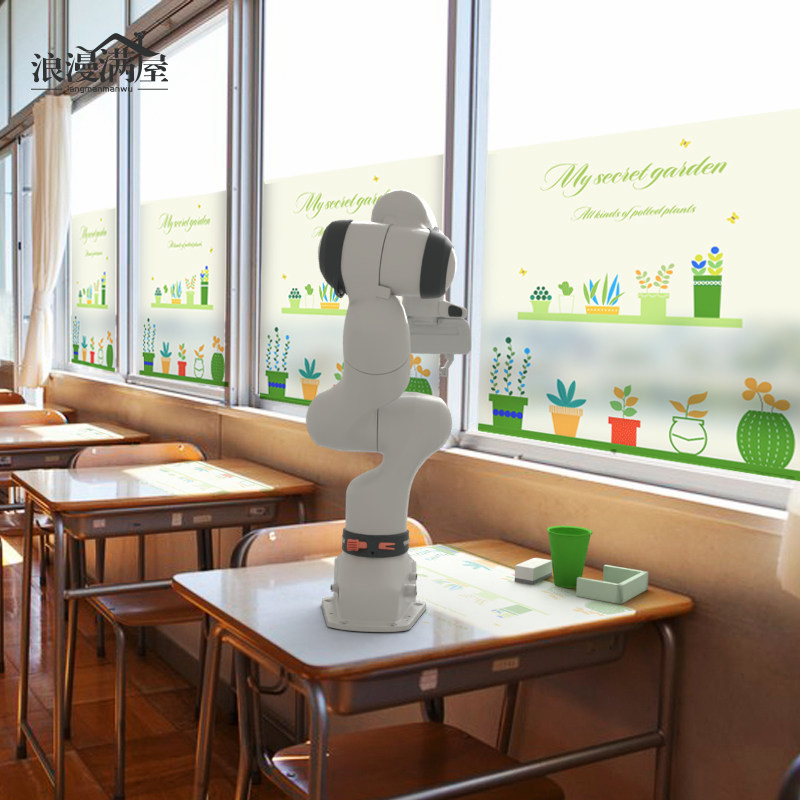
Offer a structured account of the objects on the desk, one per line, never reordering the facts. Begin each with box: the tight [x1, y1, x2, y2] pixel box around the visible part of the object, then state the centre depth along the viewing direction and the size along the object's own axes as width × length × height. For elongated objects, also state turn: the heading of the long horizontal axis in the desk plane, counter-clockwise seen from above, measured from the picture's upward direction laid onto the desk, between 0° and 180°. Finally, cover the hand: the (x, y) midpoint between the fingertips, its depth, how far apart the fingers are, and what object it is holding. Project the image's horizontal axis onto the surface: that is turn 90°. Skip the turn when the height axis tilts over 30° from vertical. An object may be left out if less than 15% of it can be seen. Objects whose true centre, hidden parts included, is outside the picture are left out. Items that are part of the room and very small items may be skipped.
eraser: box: [514, 557, 553, 585], centre depth 212 cm, size 9×4×4 cm, turn 147°
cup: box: [546, 525, 593, 589], centre depth 208 cm, size 9×9×11 cm
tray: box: [575, 564, 649, 605], centre depth 203 cm, size 14×9×4 cm, turn 146°
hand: (421, 376), depth 215 cm, fingers open, 8 cm apart
